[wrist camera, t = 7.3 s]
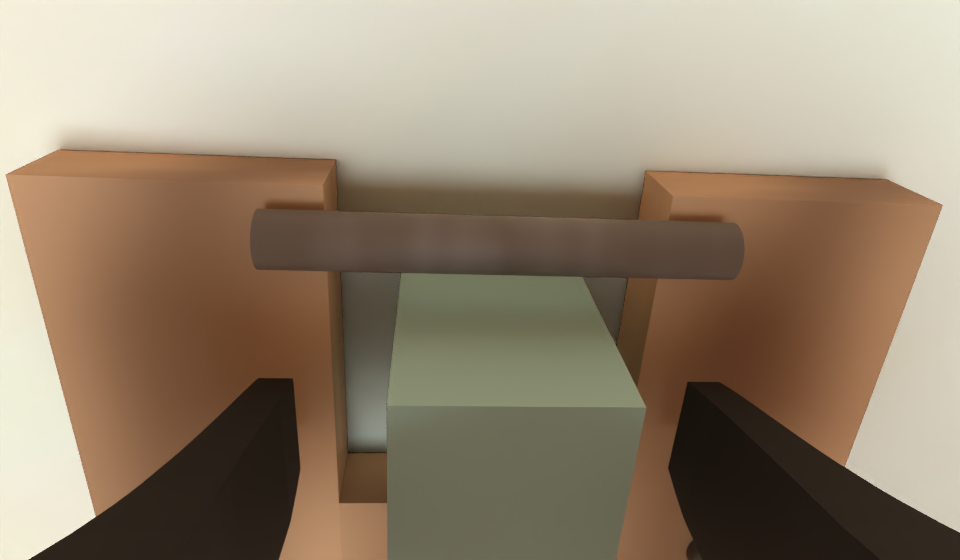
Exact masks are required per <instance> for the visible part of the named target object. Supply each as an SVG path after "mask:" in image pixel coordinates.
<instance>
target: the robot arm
mask: <svg viewBox="0 0 960 560" xmlns="http://www.w3.org/2000/svg"><path fill="white" fill-rule="evenodd" d="M300 469H301V468H300V456H299V444H298V432H297V419H296V407H295V395H294V383H293V378H258V379H256V380H255V381H254V382H253V383H252V384H251V385H250V386H249V387H248V388H247V389H246V390H244V391H243V392H242V393H241V394H240V395H239V396H238V397H237V398H236V399H235V400H234V401H233V402H232V403H231V404H230V405H229V406H228V407H227V408H226V409H225V410H224V411H223V412H222V413H221V414H220V415H219V416H218V417H217V418H216V419H214V420H213V421H212V422H211V423H210V424H209V425H208V426H207V427H206V428H205V429H204V430H203V431H202V432H201V433H199V434H198V435H197V436H196V437H195V438H194V439H193V440H192V441H191V442H190V443H188V444H187V445H186V446H185V447H184V448H183V449H182V450H181V451H180V452H179V453H177V454H176V455H175V456H174V457H173V458H172V459H170V460H169V461H168V462H167V463H166V464H164V465H163V466H162V467H161V468H160V469H158V470H157V471H156V472H155V473H154V474H152V475H151V476H150V477H149V478H148V479H146V480H145V481H144V482H143V483H142V484H140V485H139V486H138V487H136V488H135V489H134V490H132V491H131V492H130V493H129V494H127V495H126V496H124V497H123V498H122V499H120V500H119V501H118V502H116V503H115V504H114V505H112V506H111V507H109V508H108V509H107V510H105V511H104V512H102V513H101V514H99V515H98V516H96V517H95V518H94V519H92V520H91V521H89V522H88V523H86V524H85V525H84V526H82V527H81V528H79V529H77V530H76V531H74V532H73V533H71V534H70V535H68V536H67V537H65V538H63V539H62V540H60V541H58V542H57V543H55V544H54V545H52V546H50V547H49V548H47V549H45V550H44V551H42V552H40V553H39V554H37V555H36V556H34V557H32V558H31V559H29V560H279V558H280V554H281V551H282V548H283V545H284V542H285V538H286V535H287V532H288V529H289V525H290V522H291V518H292V513H293V507H294V502H295V497H296V492H297V486H298V480H299V475H300ZM668 470H669V473H670V477H671V480H672V484H673V487H674V490H675V494H676V497H677V500H678V503H679V506H680V509H681V512H682V515H683V518H684V520H685V523H686V525H687V527H688V529H689V532H690V534H691V536H692V538H693V540H694V542H695V545H696V547H697V549H698V551H699V553H700V556H701V558H702V560H960V533H959V532H957V531H955V530H953V529H951V528H949V527H947V526H945V525H943V524H941V523H939V522H938V521H936V520H934V519H932V518H930V517H928V516H927V515H925V514H923V513H921V512H919V511H917V510H916V509H914V508H912V507H910V506H908V505H907V504H905V503H903V502H901V501H899V500H897V499H896V498H894V497H892V496H891V495H889V494H887V493H885V492H884V491H882V490H880V489H879V488H877V487H875V486H874V485H872V484H870V483H869V482H867V481H866V480H864V479H862V478H861V477H859V476H858V475H856V474H855V473H853V472H851V471H850V470H848V469H847V468H845V467H843V466H842V465H840V464H839V463H837V462H836V461H834V460H833V459H831V458H830V457H828V456H827V455H825V454H824V453H822V452H821V451H819V450H818V449H816V448H815V447H813V446H812V445H810V444H809V443H807V442H806V441H805V440H803V439H802V438H800V437H799V436H797V435H796V434H794V433H793V432H792V431H790V430H789V429H787V428H786V427H785V426H783V425H782V424H780V423H779V422H778V421H776V420H775V419H773V418H772V417H770V416H769V415H768V414H766V413H765V412H763V411H762V410H761V409H759V408H758V407H756V406H755V405H754V404H752V403H751V402H749V401H748V400H746V399H745V398H744V397H742V396H741V395H739V394H738V393H736V392H735V391H733V390H732V389H730V388H728V387H727V386H725V385H724V384H722V383H720V382H687V386H686V391H685V395H684V399H683V404H682V408H681V413H680V417H679V421H678V426H677V430H676V435H675V439H674V443H673V448H672V452H671V457H670V461H669V465H668Z"/></svg>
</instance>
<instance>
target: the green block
mask: <svg viewBox="0 0 960 560" xmlns="http://www.w3.org/2000/svg"><path fill="white" fill-rule="evenodd" d="M645 412H646V406H645V404H644V402H643V400H642V398H641V396H640V394H639V392H638V389H637V387H636V385H635V383H634V381H633V379H632V377H631V375H630V373H629V371H628V369H627V367H626V365H625V363H624V361H623V359H622V357H621V355H620V353H619V351H618V349H617V347H616V345H615V342H614V340H613V338H612V336H611V334H610V332H609V330H608V328H607V326H606V324H605V322H604V320H603V318H602V316H601V314H600V312H599V310H598V308H597V306H596V304H595V302H594V300H593V297H592V295H591V293H590V291H589V289H588V287H587V285H586V283H585V281H584V279H583V277H562V276H516V275H470V274H425V273H401V279H400V288H399V297H398V306H397V315H396V324H395V333H394V342H393V352H392V361H391V370H390V379H389V388H388V397H387V560H616V557H617V552H618V547H619V542H620V537H621V532H622V527H623V522H624V517H625V512H626V507H627V502H628V497H629V492H630V487H631V482H632V477H633V472H634V467H635V462H636V457H637V452H638V447H639V442H640V437H641V432H642V427H643V422H644V417H645Z"/></svg>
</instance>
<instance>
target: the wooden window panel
mask: <svg viewBox="0 0 960 560" xmlns="http://www.w3.org/2000/svg"><path fill="white" fill-rule="evenodd" d="M6 178H7V182H8V186H9V189H10V193H11V197H12V201H13V205H14V208H15V212H16V216H17V220H18V223H19V227H20V231H21V235H22V239H23V242H24V246H25V250H26V254H27V258H28V261H29V265H30V269H31V273H32V276H33V280H34V284H35V288H36V292H37V295H38V299H39V303H40V307H41V311H42V314H43V318H44V322H45V326H46V329H47V333H48V337H49V341H50V345H51V348H52V352H53V356H54V360H55V363H56V367H57V371H58V375H59V379H60V382H61V386H62V390H63V394H64V398H65V401H66V405H67V409H68V413H69V416H70V420H71V424H72V428H73V432H74V435H75V439H76V443H77V447H78V451H79V454H80V458H81V462H82V466H83V469H84V473H85V477H86V481H87V485H88V488H89V492H90V496H91V500H92V503H93V507H94V511H95V515H96V516H98V515H99V514H101V513H102V512H104V511H105V510H107V509H108V508H109V507H111V506H112V505H114V504H115V503H116V502H118V501H119V500H120V499H122V498H123V497H124V496H126V495H127V494H129V493H130V492H131V491H132V490H134V489H135V488H136V487H138V486H139V485H140V484H142V483H143V482H144V481H145V480H146V479H148V478H149V477H150V476H151V475H152V474H154V473H155V472H156V471H157V470H158V469H160V468H161V467H162V466H163V465H164V464H166V463H167V462H168V461H169V460H170V459H172V458H173V457H174V456H175V455H176V454H177V453H179V452H180V451H181V450H182V449H183V448H184V447H185V446H186V445H187V444H188V443H190V442H191V441H192V440H193V439H194V438H195V437H196V436H197V435H198V434H199V433H201V432H202V431H203V430H204V429H205V428H206V427H207V426H208V425H209V424H210V423H211V422H212V421H213V420H214V419H216V418H217V417H218V416H219V415H220V414H221V413H222V412H223V411H224V410H225V409H226V408H227V407H228V406H229V405H230V404H231V403H232V402H233V401H234V400H235V399H236V398H237V397H238V396H239V395H240V394H241V393H242V392H243V391H244V390H246V389H247V388H248V387H249V386H250V385H251V384H252V383H253V382H254V381H255V380H256V379H258V378H293V383H294V395H295V407H296V419H297V432H298V444H299V456H300V468H301V469H300V475H299V480H298V486H297V492H296V497H295V502H294V507H293V513H292V518H291V522H290V525H289V529H288V532H287V535H286V538H285V542H284V545H283V548H282V551H281V554H280V558H279V560H387V453H348V442H347V418H346V394H345V369H344V345H343V321H342V297H341V272H379V273H425V274H470V275H516V276H562V277H607V278H628V282H627V288H626V294H625V300H624V306H623V312H622V318H621V324H620V330H619V336H618V342H617V349H618V351H619V353H620V355H621V357H622V359H623V361H624V363H625V365H626V367H627V369H628V371H629V373H630V375H631V377H632V379H633V381H634V383H635V385H636V387H637V389H638V392H639V394H640V396H641V398H642V400H643V402H644V404H645V406H646V412H645V417H644V422H643V427H642V432H641V437H640V442H639V447H638V452H637V457H636V462H635V467H634V472H633V477H632V482H631V487H630V492H629V497H628V502H627V507H626V512H625V517H624V522H623V527H622V532H621V537H620V542H619V547H618V552H617V557H616V560H702V558H701V556H700V553H699V551H698V549H697V547H696V545H695V542H694V540H693V538H692V536H691V534H690V532H689V529H688V527H687V525H686V523H685V520H684V518H683V515H682V512H681V509H680V506H679V503H678V500H677V497H676V494H675V490H674V487H673V484H672V480H671V477H670V473H669V470H668V465H669V461H670V457H671V452H672V448H673V443H674V439H675V435H676V430H677V426H678V421H679V417H680V413H681V408H682V404H683V399H684V395H685V391H686V386H687V382H720V383H722V384H724V385H725V386H727V387H728V388H730V389H732V390H733V391H735V392H736V393H738V394H739V395H741V396H742V397H744V398H745V399H746V400H748V401H749V402H751V403H752V404H754V405H755V406H756V407H758V408H759V409H761V410H762V411H763V412H765V413H766V414H768V415H769V416H770V417H772V418H773V419H775V420H776V421H778V422H779V423H780V424H782V425H783V426H785V427H786V428H787V429H789V430H790V431H792V432H793V433H794V434H796V435H797V436H799V437H800V438H802V439H803V440H805V441H806V442H807V443H809V444H810V445H812V446H813V447H815V448H816V449H818V450H819V451H821V452H822V453H824V454H825V455H827V456H828V457H830V458H831V459H833V460H834V461H836V462H837V463H839V464H840V465H842V466H843V467H845V465H846V462H847V459H848V457H849V454H850V451H851V449H852V446H853V443H854V441H855V438H856V435H857V433H858V430H859V427H860V425H861V422H862V419H863V417H864V414H865V411H866V409H867V406H868V403H869V401H870V398H871V395H872V393H873V390H874V387H875V385H876V382H877V379H878V377H879V374H880V371H881V369H882V366H883V363H884V361H885V358H886V355H887V353H888V350H889V347H890V345H891V342H892V339H893V337H894V334H895V331H896V329H897V326H898V323H899V321H900V318H901V315H902V313H903V310H904V307H905V305H906V302H907V299H908V297H909V294H910V291H911V289H912V286H913V283H914V281H915V278H916V275H917V273H918V270H919V267H920V265H921V262H922V259H923V257H924V254H925V251H926V249H927V246H928V243H929V241H930V238H931V235H932V233H933V230H934V227H935V225H936V222H937V219H938V217H939V214H940V211H941V209H942V206H943V205H941V204H939V203H937V202H935V201H932V200H930V199H928V198H926V197H924V196H922V195H919V194H917V193H915V192H913V191H911V190H908V189H906V188H904V187H902V186H900V185H898V184H895V183H893V182H891V181H889V180H883V179H855V178H827V177H799V176H771V175H743V174H716V173H688V172H660V171H646V174H645V180H644V186H643V192H642V198H641V204H640V210H639V216H638V220H629V219H595V218H561V217H527V216H493V215H459V214H425V213H391V212H357V211H338V200H337V175H336V160H324V159H296V158H268V157H240V156H212V155H184V154H156V153H128V152H100V151H72V150H57V151H55V152H52V153H50V154H48V155H46V156H44V157H42V158H40V159H38V160H36V161H33V162H31V163H29V164H27V165H25V166H23V167H21V168H19V169H17V170H14V171H12V172H10V173H8V174H6Z"/></svg>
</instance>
